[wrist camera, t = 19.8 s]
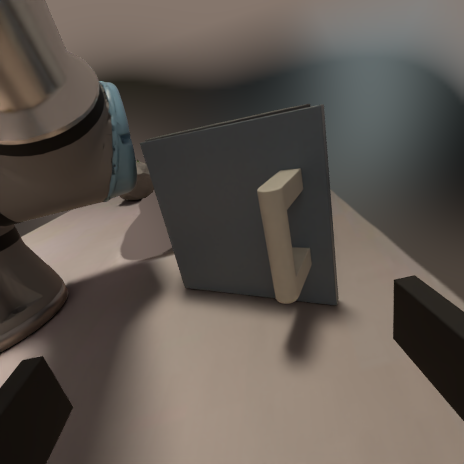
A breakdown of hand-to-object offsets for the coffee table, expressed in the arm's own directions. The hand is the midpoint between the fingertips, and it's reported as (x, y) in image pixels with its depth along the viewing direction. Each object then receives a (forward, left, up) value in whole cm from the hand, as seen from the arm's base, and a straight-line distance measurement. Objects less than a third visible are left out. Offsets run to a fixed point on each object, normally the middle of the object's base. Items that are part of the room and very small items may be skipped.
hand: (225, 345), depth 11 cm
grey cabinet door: (+4, +12, -8) cm, 15 cm away
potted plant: (0, +81, -9) cm, 81 cm away
